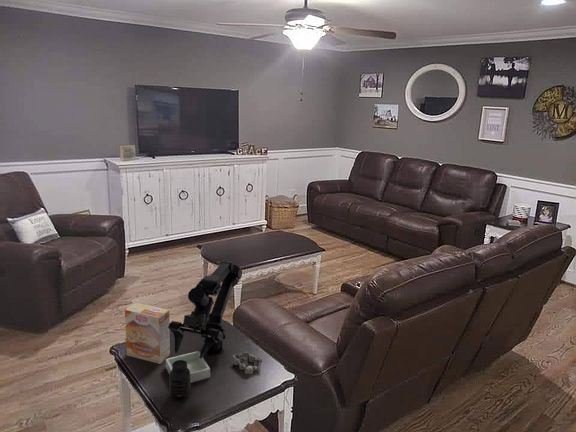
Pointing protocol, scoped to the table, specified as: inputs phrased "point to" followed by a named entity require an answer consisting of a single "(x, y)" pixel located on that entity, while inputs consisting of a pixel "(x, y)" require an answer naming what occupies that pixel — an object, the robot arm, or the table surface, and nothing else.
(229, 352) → the table surface
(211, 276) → the robot arm
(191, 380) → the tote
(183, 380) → the supplement bottle
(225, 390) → the table surface
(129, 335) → the coffeecake box
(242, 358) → the egg carton
